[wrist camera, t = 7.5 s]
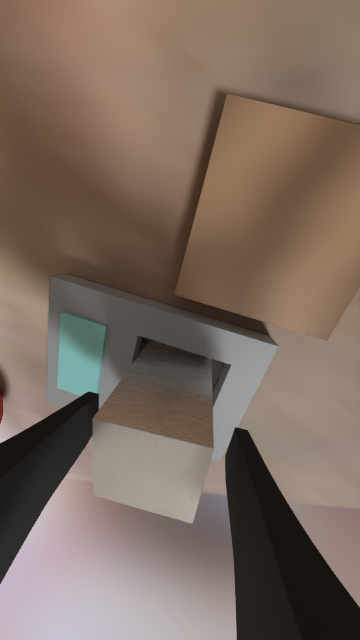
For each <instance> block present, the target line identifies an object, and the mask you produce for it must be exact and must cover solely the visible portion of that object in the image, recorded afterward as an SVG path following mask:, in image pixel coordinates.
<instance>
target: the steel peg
mask: <svg viewBox="0 0 360 640" xmlns="http://www.w3.org/2000/svg"><path fill="white" fill-rule="evenodd" d="M213 450H214V436H213V397H212V359H211V358H208V357H205V356H202V355H198V354H195V353H192V352H189V351H186V350H183V349H180V348H176V347H173V346H170V345H167V344H164V343H161V342H157V341H152V340H150V341H149V342H148V343H147V345H146V346H145V347H144V349H143V350H142V352H141V353H140V354H139V356H138V357H137V358H136V360H135V361H134V363H133V364H132V365H131V367H130V368H129V369H128V371H127V372H126V374H125V375H124V376H123V378H122V379H121V380H120V382H119V383H118V385H117V386H116V387H115V389H114V390H113V391H112V393H111V394H110V396H109V397H108V398H107V400H106V401H105V402H104V404H103V405H102V407H101V408H100V409H99V411H98V412H97V413H96V415H95V416H94V418H93V495H94V496H98V497H101V498H105V499H108V500H112V501H115V502H119V503H122V504H126V505H129V506H132V507H136V508H139V509H143V510H146V511H150V512H153V513H157V514H160V515H164V516H168V517H171V518H174V519H178V520H182V521H185V522H188V523H193V520H194V516H195V512H196V509H197V506H198V502H199V498H200V495H201V492H202V488H203V485H204V481H205V478H206V474H207V471H208V467H209V464H210V460H211V457H212V453H213Z"/></svg>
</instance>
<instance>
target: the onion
mask: <svg viewBox="0 0 360 640" xmlns="http://www.w3.org/2000/svg"><path fill="white" fill-rule="evenodd" d="M2 416H3V396H2V395H1V394H0V423H1V420H2Z"/></svg>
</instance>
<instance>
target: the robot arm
mask: <svg viewBox="0 0 360 640" xmlns="http://www.w3.org/2000/svg"><path fill="white" fill-rule="evenodd" d="M98 411H99V394H97V393H93V392H89V391H88V392H87V393H85V394H83V395H82V396H80V397H78V398H77V399H75V400H74V401H72V402H71V403H69V404H67V405H66V406H64V407H63V408H61V409H60V410H58V411H56V412H55V413H53V414H51V415H50V416H48V417H46V418H45V419H43V420H42V421H40V422H38V423H36V424H35V425H33V426H31V427H29V428H28V429H26V430H24V431H22V432H21V433H19V434H17V435H15V436H13V437H12V438H10V439H8V440H6V441H4V442H2V443H0V584H1V582H2V580H3V578H4V576H5V575H6V573H7V571H8V569H9V567H10V566H11V564H12V562H13V560H14V559H15V557H16V555H17V553H18V552H19V550H20V548H21V546H22V545H23V543H24V541H25V539H26V538H27V536H28V534H29V532H30V531H31V529H32V527H33V525H34V524H35V522H36V521H37V519H38V517H39V516H40V514H41V512H42V510H43V509H44V507H45V505H46V504H47V502H48V501H49V499H50V498H51V496H52V494H53V493H54V492H55V490H56V489H57V487H58V486H59V484H60V483H61V481H62V480H63V479H64V477H65V476H66V474H67V473H68V471H69V470H70V468H71V467H72V465H73V464H74V463H75V461H76V460H77V458H78V457H79V455H80V454H81V452H82V451H83V449H84V448H85V446H86V445H87V443H88V442H89V440H90V438H91V436H92V435H93V418H94V416H95V415H96V413H97V412H98ZM225 471H226V489H227V499H228V508H229V517H230V526H231V536H232V545H233V556H234V572H235V595H236V623H237V624H236V625H237V640H360V607H359V606H358V605H357V603H356V602H355V601H354V599H353V598H352V597H351V595H350V594H349V593H348V591H347V590H346V589H345V587H344V586H343V585H342V583H341V582H340V581H339V579H338V578H337V577H336V575H335V574H334V572H333V571H332V570H331V568H330V567H329V565H328V564H327V562H326V561H325V560H324V558H323V557H322V555H321V554H320V553H319V551H318V549H317V548H316V546H315V545H314V544H313V542H312V541H311V539H310V538H309V536H308V535H307V533H306V532H305V530H304V528H303V527H302V526H301V524H300V522H299V521H298V519H297V518H296V516H295V514H294V513H293V511H292V510H291V508H290V506H289V505H288V503H287V501H286V500H285V498H284V496H283V495H282V493H281V491H280V490H279V488H278V486H277V484H276V483H275V481H274V479H273V477H272V475H271V474H270V472H269V470H268V468H267V466H266V465H265V463H264V461H263V459H262V457H261V455H260V453H259V451H258V449H257V447H256V445H255V443H254V441H253V440H252V438H251V436H250V434H249V432H248V430H244V429H240V428H236V427H235V429H234V432H233V435H232V438H231V441H230V444H229V447H228V450H227V453H226V456H225Z"/></svg>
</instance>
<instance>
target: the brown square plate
mask: <svg viewBox="0 0 360 640" xmlns="http://www.w3.org/2000/svg"><path fill="white" fill-rule="evenodd" d="M359 287H360V125H357V124H353V123H349V122H344V121H340V120H336V119H332V118H328V117H323V116H319V115H315V114H311V113H307V112H303V111H298V110H294V109H290V108H286V107H282V106H277V105H273V104H269V103H265V102H261V101H256V100H252V99H248V98H244V97H240V96H236V95H231V94H227V96H226V100H225V104H224V108H223V112H222V115H221V119H220V123H219V127H218V130H217V134H216V138H215V142H214V146H213V149H212V153H211V157H210V161H209V165H208V168H207V172H206V176H205V180H204V184H203V187H202V191H201V195H200V199H199V203H198V206H197V210H196V214H195V218H194V222H193V225H192V229H191V233H190V237H189V241H188V244H187V248H186V252H185V256H184V260H183V263H182V267H181V271H180V275H179V279H178V282H177V286H176V290H175V294H174V295H177V296H180V297H183V298H187V299H190V300H193V301H197V302H200V303H203V304H207V305H210V306H213V307H217V308H220V309H223V310H227V311H230V312H233V313H237V314H240V315H243V316H247V317H250V318H253V319H256V320H260V321H263V322H266V323H270V324H273V325H276V326H280V327H283V328H286V329H290V330H293V331H296V332H300V333H303V334H306V335H310V336H313V337H316V338H319V339H323V340H326V341H327V340H328V338H329V337H330V335H331V333H332V332H333V330H334V328H335V327H336V325H337V323H338V322H339V320H340V318H341V317H342V315H343V313H344V312H345V310H346V308H347V307H348V305H349V304H350V302H351V300H352V299H353V297H354V295H355V294H356V292H357V290H358V289H359Z"/></svg>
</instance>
